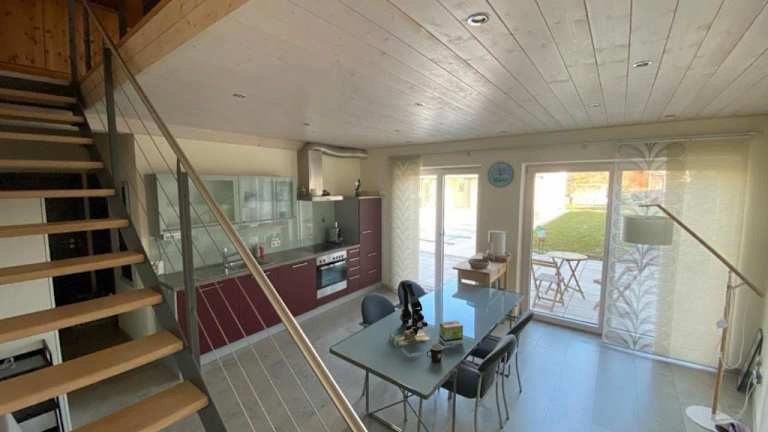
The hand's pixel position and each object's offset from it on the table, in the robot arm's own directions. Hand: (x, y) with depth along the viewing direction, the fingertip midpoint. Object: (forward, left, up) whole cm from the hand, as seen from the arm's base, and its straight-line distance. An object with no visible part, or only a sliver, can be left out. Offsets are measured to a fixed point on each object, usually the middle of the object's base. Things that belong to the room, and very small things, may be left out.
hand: (415, 335), depth 253 cm
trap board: (0, -5, -3) cm, 5 cm away
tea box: (+15, +22, -3) cm, 27 cm away
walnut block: (0, -5, -1) cm, 5 cm away
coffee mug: (+32, -3, -3) cm, 33 cm away
